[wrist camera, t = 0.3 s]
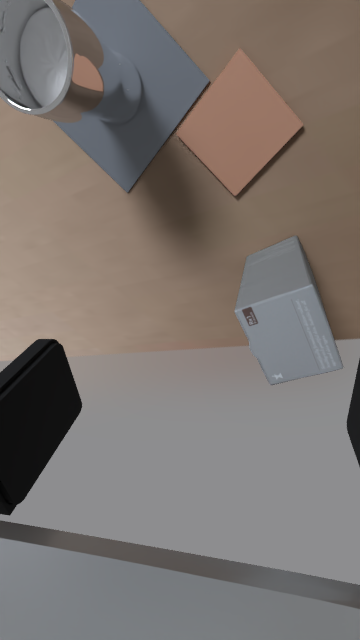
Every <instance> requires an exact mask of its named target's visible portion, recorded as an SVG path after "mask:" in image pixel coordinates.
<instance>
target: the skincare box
mask: <svg viewBox="0 0 360 640" xmlns="http://www.w3.org/2000/svg"><path fill="white" fill-rule="evenodd" d="M235 314H236V316H237V318H238V320H239V322H240V324H241V326H242V328H243V330H244V332H245V334H246V336H247V338H248V340H249V347H250V350H251V352H252V354H253V355H254V356H255V357H256V358H257V359H258V362H259V364H260V365H261V368H262V370H263V372H264V374H265V376H266V378H267V380H268V382H269V384H270V385H275V384H279V383H283V382H287V381H291V380H295V379H299V378H303V377H308V376H313V375H318V374H322V373H327V372H331V371H335V370H338V369H342V368H343V364H342V361H341V358H340V355H339V352H338V349H337V346H336V343H335V340H334V337H333V334H332V332H331V329H330V326H329V323H328V320H327V316H326V313H325V310H324V307H323V303H322V300H321V297H320V294H319V291H318V288H317V285H316V282H315V279H314V276H313V273H312V270H311V267H310V265H309V262H308V260H307V257H306V255H305V252H304V250H303V248H302V245H301V243H300V241H299V239H298V237H297V236H293V237H291V238H288V239H286V240H284V241H281V242H279V243H277V244H275V245H272V246H270V247H268V248H265V249H263V250H261V251H258V252H256V253H254V254H251V255H249V256H247V258H246V263H245V267H244V272H243V277H242V281H241V286H240V290H239V294H238V298H237V302H236V307H235Z"/></svg>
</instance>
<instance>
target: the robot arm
mask: <svg viewBox="0 0 360 640" xmlns="http://www.w3.org/2000/svg"><path fill="white" fill-rule="evenodd" d="M81 408H82V402H81V399H80V396H79V393H78V390H77V387H76V384H75V381H74V378H73V375H72V372H71V369H70V366H69V364H68V360H67V357H66V354H65V351H64V348H63V346H62V345H61V344H59V343H58V341H57V340H55V339H38V340H36V341H35V342H34V343H33V344H32V345H31V346H29V347H28V348H27V349H26V350H25V351H24V352H23V353H22V354H20V355H19V356H18V357H17V358H16V359H15V360H14V361H13V362H12V363H10V365H8V366H7V367H6V368H5V369H4V370H3V371H1V372H0V514H4V515H10V514H11V513H12V511H13V510H14V509H15V507H16V505H17V504H19V503H21V502H22V501H23V500H24V499H25V497H26V496H27V494H28V492H29V491H30V489H31V488H32V486H33V485H34V483H35V481H36V480H37V479H38V477H39V475H40V474H41V472H42V471H43V469H44V468H45V466H46V465H47V463H48V461H49V460H50V458H51V457H52V455H53V454H54V452H55V451H56V449H57V447H58V446H59V444H60V443H61V441H62V440H63V438H64V437H65V435H66V434H67V432H68V430H69V429H70V427H71V426H72V424H73V423H74V421H75V420H76V418H77V417H78V415H79V413H80V411H81ZM347 430H348V434H349V437H350V440H351V443H352V446H353V449H354V451H355V454H356V457H357V460H358V463H359V466H360V360H359V365H358V369H357V374H356V379H355V384H354V389H353V394H352V398H351V404H350V408H349V413H348V418H347ZM0 640H360V585H357V584H352V583H347V582H341V581H337V580H332V579H326V578H321V577H316V576H311V575H306V574H301V573H296V572H290V571H284V570H279V569H273V568H267V567H262V566H257V565H251V564H246V563H240V562H234V561H229V560H223V559H218V558H212V557H207V556H201V555H195V554H190V553H184V552H179V551H173V550H168V549H162V548H156V547H151V546H145V545H139V544H133V543H127V542H122V541H116V540H110V539H104V538H99V537H93V536H88V535H82V534H76V533H70V532H65V531H59V530H53V529H47V528H41V527H35V526H29V525H23V524H17V523H11V522H5V521H0Z"/></svg>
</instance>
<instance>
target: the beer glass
mask: <svg viewBox="0 0 360 640" xmlns="http://www.w3.org/2000/svg"><path fill="white" fill-rule="evenodd" d="M0 97H1V98H2V99H3V100H4V101H5V102H6V103H7V104H8V105H10V106H11V107H13V108H14V109H16V110H18V111H20V112H22V113H26V114H30V115H35V116H38V117H41V118H44V119H48V120H52V121H57V122H62V123H82V122H88V121H92V120H95V119H98V118H100V119H101V120H102V121H104V122H106V123H109V124H113V125H120V124H124V123H126V122H128V121H129V120H131V119H132V118H133V117H134V116H135V114H136V113H137V111H138V109H139V107H140V104H141V99H142V84H141V79H140V76H139V73H138V71H137V69H136V67H135V66H134V64H133V63H132V62H131V61H130V60H129V59H128V58H127V57H125V56H124V55H122V54H120V53H118V52H114V51H111V50H110V49H109V47H108V46H107V44H106V43H105V41H104V40H103V39H102V37H101V36H100V35H99V33H98V32H97V31H96V30H95V28H94V27H93V26H92V25H91V24H90V23H89V22H88V21H87V20H86V19H85V18H84V17H83V16H82V15H80V14H79V13H78V12H77V11H76V10H74V9H73V8H72V7H70V6H69V5H67V4H66V3H64V2H63V1H61V0H0Z"/></svg>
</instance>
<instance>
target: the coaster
mask: <svg viewBox="0 0 360 640" xmlns="http://www.w3.org/2000/svg"><path fill="white" fill-rule="evenodd" d="M303 125H304V124H303V123H302V122H301V121H300V120H299V118H298V117H297V116H296V115H295V114H294V112H293V111H292V110H291V109H290V108H289V106H288V105H287V104H286V103H285V102H284V100H283V99H282V98H281V97H280V95H279V94H278V93H277V92H276V91H275V89H274V88H273V87H272V86H271V85H270V83H269V82H268V81H267V80H266V79H265V77H264V76H263V75H262V74H261V72H260V71H259V70H258V69H257V68H256V66H255V65H254V64H253V63H252V62H251V60H250V59H249V58H248V57H247V56H246V54H245V53H244V52H243V51H242V49H241V48H239V49H238V51H237V52H236V53H235V55H234V56H233V57H232V59H231V60H230V62H229V63H228V64H227V66H226V67H225V68H224V70H223V71H222V72H221V74H220V75H219V76H218V78H217V79H216V80H215V82H214V83H213V84H212V86H211V87H210V88H209V90H208V91H207V92H206V94H205V95H204V97H203V98H202V99H201V101H200V102H199V103H198V105H197V106H196V107H195V109H194V110H193V111H192V113H191V114H190V115H189V117H188V118H187V119H186V121H185V122H184V123H183V125H182V126H181V127H180V129H179V130H178V132H177V133H176V134H177V135H178V136H179V137H180V139H181V140H182V141H183V142H184V143H185V144H186V145H187V146H188V147H189V148H190V149H191V150H192V151H193V152H194V153H195V154H196V156H197V157H198V158H199V159H200V160H201V161H202V162H203V163H204V164H205V165H206V166H207V167H208V168H209V169H210V170H211V171H212V173H213V174H214V175H215V176H216V177H217V178H218V179H219V180H220V181H221V182H222V183H223V184H224V185H225V186H226V187H227V188H228V190H229V191H230V192H231V193H232V194H233V195H234V196H236V195H237V194H238V193H239V192H240V191H241V190H242V189H243V188H244V186H245V185H246V184H247V183H248V182H249V181H250V180H251V179H252V178H253V177H254V176H255V175H256V174H257V173H258V172H259V171H260V170H261V169H262V168H263V167H264V166H265V165H266V163H267V162H268V161H269V160H270V159H271V158H272V157H273V156H274V155H275V154H276V153H277V152H278V151H279V150H280V149H281V148H282V147H283V146H284V145H285V144H286V143H287V141H288V140H289V139H290V138H291V137H292V136H293V135H294V134H295V133H296V132H297V131H298V130H299V129H300V128H301V127H302V126H303Z"/></svg>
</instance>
